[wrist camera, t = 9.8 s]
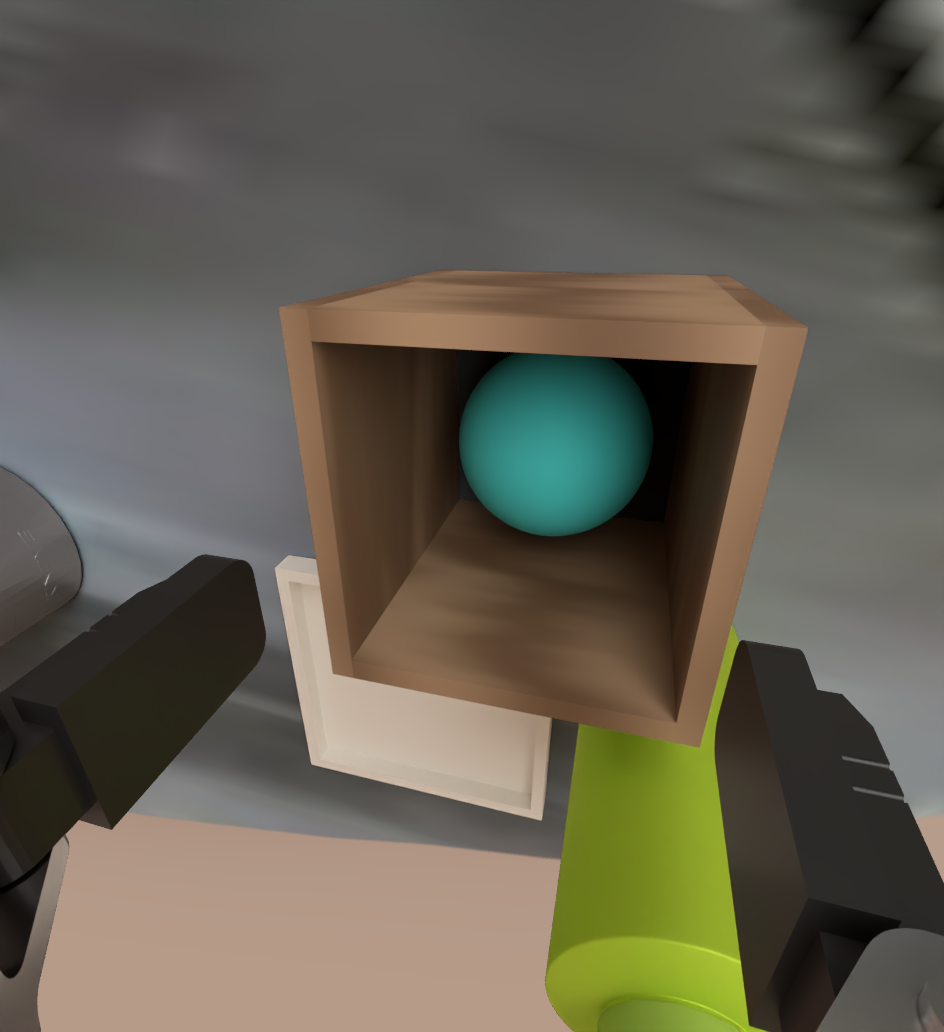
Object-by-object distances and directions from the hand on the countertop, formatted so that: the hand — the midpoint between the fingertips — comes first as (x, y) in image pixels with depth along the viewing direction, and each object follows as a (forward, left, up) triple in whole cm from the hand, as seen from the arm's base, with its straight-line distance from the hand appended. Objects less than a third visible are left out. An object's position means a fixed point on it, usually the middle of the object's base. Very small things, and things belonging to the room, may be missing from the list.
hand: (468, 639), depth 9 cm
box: (0, 0, -13) cm, 13 cm away
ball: (0, 0, -10) cm, 10 cm away
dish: (-6, -14, -13) cm, 20 cm away
